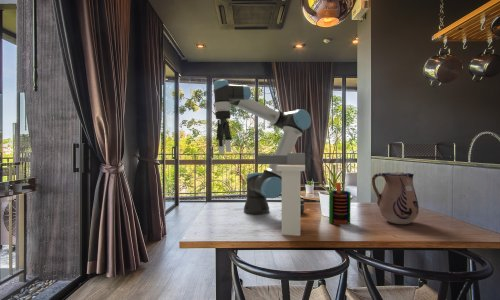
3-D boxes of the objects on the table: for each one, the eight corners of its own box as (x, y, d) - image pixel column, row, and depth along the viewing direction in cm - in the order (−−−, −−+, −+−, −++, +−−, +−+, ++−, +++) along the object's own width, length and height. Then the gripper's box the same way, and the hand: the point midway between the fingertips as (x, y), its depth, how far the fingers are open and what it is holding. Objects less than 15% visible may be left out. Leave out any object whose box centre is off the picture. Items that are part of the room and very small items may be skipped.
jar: (286, 210, 172) (286, 198, 172) (303, 210, 172) (303, 198, 172) (287, 214, 162) (287, 201, 162) (305, 214, 162) (305, 201, 162)
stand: (279, 225, 139) (279, 163, 139) (304, 226, 137) (304, 163, 137) (276, 236, 122) (276, 165, 122) (305, 237, 120) (305, 165, 120)
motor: (334, 225, 139) (334, 184, 139) (325, 221, 148) (325, 182, 147) (353, 224, 142) (353, 183, 142) (342, 219, 150) (342, 181, 150)
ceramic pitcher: (424, 228, 135) (424, 174, 135) (376, 225, 139) (376, 174, 139) (411, 219, 152) (411, 171, 152) (369, 217, 156) (369, 171, 156)
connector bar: (259, 163, 140) (258, 152, 140) (304, 163, 136) (304, 153, 136) (257, 163, 134) (257, 153, 134) (305, 164, 130) (305, 153, 130)
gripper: (221, 113, 159) (224, 152, 160) (208, 109, 134) (210, 154, 135) (235, 112, 158) (237, 151, 158) (223, 107, 133) (226, 153, 134)
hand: (225, 152), depth 147 cm, fingers open, 13 cm apart
